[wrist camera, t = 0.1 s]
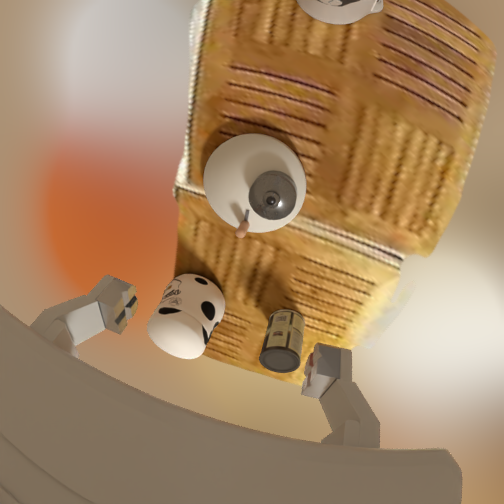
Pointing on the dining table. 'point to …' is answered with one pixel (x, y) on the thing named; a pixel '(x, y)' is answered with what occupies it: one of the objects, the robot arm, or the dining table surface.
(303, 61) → the dining table surface
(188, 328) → the milk container
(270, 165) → the crank wheel
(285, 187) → the iron cover
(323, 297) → the dining table surface
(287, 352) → the coffee can
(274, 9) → the dining table surface
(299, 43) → the dining table surface
